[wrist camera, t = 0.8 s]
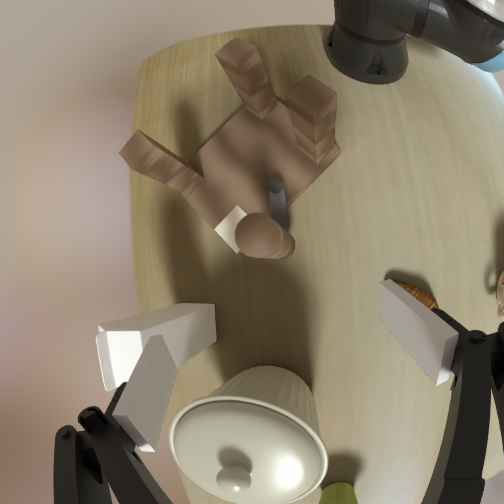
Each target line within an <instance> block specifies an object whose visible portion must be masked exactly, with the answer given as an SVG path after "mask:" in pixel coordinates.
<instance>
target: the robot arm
mask: <svg viewBox="0 0 504 504" xmlns="http://www.w3.org/2000/svg"><path fill="white" fill-rule="evenodd" d="M334 7H335V22H334V24H333V26H332V28H331V30H330V33H329V35H328V37H327V41H326V49H327V55H328V58H329V60H330V61H331V63H332V64H333V65H334V66H335V67H336V68H337V69H338V70H339V71H340V72H342V73H343V74H345V75H347V76H348V77H350V78H353V79H355V80H358V81H361V82H364V83H369V84H389V83H392V82H395V81H397V80H399V79H400V78H401V77H402V76H403V75H404V73H405V71H406V68H407V65H408V53H407V47H406V41H405V35H406V34H409V35H412V36H414V37H417V38H419V39H421V40H424V41H426V42H428V43H431V44H433V45H435V46H437V47H439V48H442V49H444V50H446V51H448V52H450V53H452V54H454V55H456V56H457V57H459V58H461V59H462V60H463V61H464V62H466V63H468V64H471V65H474V66H476V67H478V68H480V69H481V70H483V71H486V72H491V73H492V72H498V71H500V70H502V69H504V0H334ZM379 290H380V321H381V322H382V324H383V325H384V326H385V327H386V328H387V329H388V330H389V331H390V333H391V334H392V335H393V336H394V337H395V338H396V339H397V341H398V342H399V343H400V344H401V345H402V346H403V347H404V349H405V350H406V351H407V352H408V353H409V354H410V356H411V357H412V358H413V359H414V360H415V361H416V363H417V364H418V365H419V366H420V367H421V369H422V370H423V371H424V372H425V373H426V375H427V376H428V377H429V378H430V379H431V381H432V382H433V383H434V384H435V386H437V385H439V384H441V383H442V382H444V381H446V380H448V378H449V374H450V370H451V371H452V372H453V373H454V374H455V376H454V379H453V383H452V386H451V389H450V390H452V394H451V400H450V406H449V412H448V417H447V422H446V427H445V431H444V436H443V440H442V444H441V447H440V451H439V455H438V458H437V461H436V465H435V468H434V471H433V474H432V477H431V480H430V483H429V485H428V488H427V491H426V493H425V496H424V498H423V501H422V503H421V504H480V502H481V498H482V495H483V491H484V485H485V480H484V479H483V478H482V471H483V466H484V460H485V455H486V448H487V441H488V433H489V422H490V407H491V389H492V393H493V397H494V401H495V405H496V410H497V414H498V419H499V425H500V430H501V436H502V443H503V451H504V322H502V323H501V324H500V325H499V328H498V332H496V333H492V334H489V335H486V334H485V333H484V332H482V331H479V330H472V331H468V330H467V329H466V328H465V327H463V326H462V325H461V324H460V323H458V322H457V321H456V320H455V319H454V320H453V318H452V317H451V316H449V315H448V314H447V313H446V312H444V311H443V310H440V309H438V308H435V307H434V308H432V309H429V308H427V307H426V306H425V305H424V304H422V303H421V302H420V301H418V300H417V299H416V298H415V297H413V296H412V295H411V294H409V293H408V292H407V291H405V290H404V289H403V288H401V287H400V286H399V285H397V284H396V283H395V282H393V281H392V280H391V279H388V280H385V281H381V282H379ZM177 371H178V368H177V366H176V364H175V362H174V360H173V358H172V356H171V354H170V352H169V350H168V347H167V345H166V343H165V341H164V339H163V336H162V334H161V335H154V336H150V338H149V340H148V342H147V344H146V346H145V348H144V350H143V352H142V354H141V356H140V358H139V360H138V362H137V364H136V366H135V368H134V370H133V372H132V374H131V376H130V378H129V380H128V382H123V383H122V384H121V385H120V386H119V387H118V388H117V390H116V392H115V394H114V396H113V398H112V401H111V402H110V404H109V406H108V408H107V410H106V412H105V414H103V412H102V411H101V410H100V409H99V407H96V406H91V407H88V408H86V409H84V410H83V411H82V412H81V413H80V414H79V416H78V422H79V423H80V424H81V426H82V427H83V428H84V429H85V430H84V431H79V432H77V431H76V429H75V428H74V427H73V426H70V425H66V426H64V427H62V428H60V429H59V430H58V432H57V433H56V438H55V449H54V504H112V500H111V495H110V490H109V485H110V487H111V489H112V491H113V492H114V494H115V496H116V498H117V500H118V502H119V504H173V503H172V502H171V500H170V499H169V498H168V497H167V496H166V494H165V493H164V492H163V490H162V489H161V488H160V486H159V485H158V483H157V482H156V481H155V479H154V478H153V477H152V475H151V474H150V472H149V471H148V469H147V468H146V466H145V465H144V463H143V462H142V460H141V459H140V457H139V456H138V454H137V453H136V452H135V451H134V449H135V446H136V445H137V446H138V447H139V448H140V449H141V451H150V452H155V451H156V448H157V445H158V440H159V436H160V433H161V429H162V425H163V421H164V418H165V414H166V410H167V407H168V403H169V399H170V396H171V392H172V389H173V385H174V382H175V378H176V375H177ZM108 482H109V485H108Z"/></svg>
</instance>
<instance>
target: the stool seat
mask: <svg viewBox="0 0 504 504" xmlns="http://www.w3.org/2000/svg"><path fill="white" fill-rule="evenodd" d="M215 56H216V57H217V59H218V61H219V62H220V64H221V66H222V67H223V69H224V71H225V72H226V74H227V76H228V77H229V79H230V81H231V82H232V84H233V86H234V88H235V89H236V91H237V93H238V95H239V96H240V98H241V100H242V102H243V104H244V105H245V106H244V107H242V108H241V109H240V110H239V111H238V112H237V113H236V114H235V115H234V116H233V117H232V118H231V119H230V120H229V121H228V122H227V123H226V124H225V125H224V126H223V127H222V128H221V129H220V130H219V131H218V132H217V133H216V134H215V135H214V136H213V137H212V138H211V139H210V140H209V141H208V142H207V143H206V144H205V145H204V146H203V147H202V148H201V149H200V150H199V151H198V152H197V153H196V154H195V156H194V157H193V158H192V159H191V160H190V161H189V162H188V163H187V162H185V161H184V160H182V159H181V158H180V157H178V156H177V155H175V154H174V153H172V152H171V151H169V150H168V149H166V148H165V147H163V146H162V145H160V144H159V143H157V142H156V141H154V140H153V139H152V138H150V137H149V136H147V135H145V134H144V133H142V132H141V131H139V130H137V131H136V132H135V134H134V135H133V136H132V137H131V138H130V140H129V141H128V142H127V143H126V145H125V146H124V147H123V148H122V150H121V151H120V152H119V154H120V155H121V156H122V157H123V159H124V160H125V161H126V162H127V164H128V165H129V166H130V167H131V169H133V170H135V171H137V172H139V173H141V174H143V175H146V176H148V177H150V178H152V179H154V180H156V181H159V182H161V183H163V184H165V185H167V186H169V187H171V188H174V189H176V190H177V191H178V192H179V193H180V194H181V195H182V196H183V197H184V198H185V199H186V200H187V201H188V202H189V204H190V205H191V206H192V207H193V208H194V209H195V210H196V211H197V212H198V213H199V214H200V215H201V217H202V218H203V219H204V220H205V221H206V222H207V223H208V224H209V225H210V226H211V227H212V228H213V230H214V231H215V232H216V233H217V234H218V235H219V236H220V237H221V238H222V239H223V240H224V241H225V242H226V243H227V245H228V246H229V247H230V248H231V249H232V250H233V251H234V252H235V253H236V254H238V255H242V254H243V252H241V251H240V249H239V248H238V246H237V244H236V242H235V229H236V226H237V224H238V223H239V221H240V220H241V219H242V218H243V217H244V216H246V215H248V214H251V213H256V212H258V213H264V214H266V215H268V216H270V217H271V207H270V196H269V189H268V187H267V183H268V181H269V180H270V179H271V178H272V177H279V178H281V179H282V180H283V181H284V185H285V188H284V191H285V201H286V209H287V208H288V207H289V206H290V205H291V204H292V203H293V202H294V201H295V200H296V199H297V198H298V197H299V196H300V195H301V194H302V193H303V192H304V191H305V190H306V189H307V188H308V187H309V186H310V185H311V184H312V183H313V182H314V181H315V180H316V179H317V178H318V177H319V176H320V175H321V174H322V173H323V172H324V171H325V170H326V169H327V168H328V167H329V166H330V165H331V163H332V162H333V161H334V160H335V159H336V158H337V157H338V156H339V155H340V153H341V148H340V147H339V146H338V145H337V144H335V143H334V137H335V121H336V99H337V93H336V92H335V91H333V90H332V89H330V88H329V87H327V86H326V85H324V84H323V83H321V82H320V81H318V80H317V79H315V78H313V77H312V76H310V75H308V76H307V77H305V78H304V79H303V80H302V81H301V82H299V83H298V84H297V85H296V86H295V87H293V88H292V89H291V90H290V91H289V92H288V93H287V94H285V96H286V100H287V103H288V107H289V108H288V107H287V106H285V105H284V104H282V103H281V102H279V101H278V100H276V99H275V96H274V93H273V90H272V87H271V84H270V81H269V79H268V76H267V73H266V70H265V68H264V65H263V62H262V60H261V57H260V54H259V52H258V49H257V47H256V46H255V45H253V44H250V43H248V42H246V41H244V40H242V39H239V38H237V37H235V38H234V39H233V40H231V41H230V42H229V43H227V44H226V45H225V46H224V47H222V48H221V49H220V50H219V51H217V52H216V53H215Z"/></svg>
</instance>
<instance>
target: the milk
mask: <svg viewBox="0 0 504 504" xmlns="http://www.w3.org/2000/svg"><path fill="white" fill-rule="evenodd" d="M98 326H99V333H98V334H97V335H96V343H97V349H98V355H99V361H100V367H101V372H102V377H103V381H104V386H105V390H106V391H110V390H112V389H114V388H116V387H119V386H120V385H121V384H122V383H123V382H128V380H129V378H130V376H131V374H132V372H133V370H134V368H135V366H136V364H137V362H138V360H139V358H140V356H141V354H142V352H143V350H144V348H145V346H146V344H147V342H148V340H149V338H150V336H154V335H161V334H162V336H163V339H164V341H165V343H166V345H167V347H168V350H169V352H170V354H171V356H172V358H173V360H174V362H175V364H176V366H177V368H178V367H179V366H181V365H182V364H184V363H185V362H187V361H188V360H190V359H191V358H193V357H194V356H195V355H197V354H198V353H200V352H201V351H203V350H204V349H205V348H207V347H208V346H210V345H211V344H213V343H214V342H215V341H217V337H216V322H215V306H214V304H200V303H179V304H176V305H172V306H168V307H165V308H161V309H157V310H154V311H150V312H146V313H142V314H139V315H135V316H131V317H127V318H123V319H119V320H115V321H111V322H108V323H103V324H100V325H98Z"/></svg>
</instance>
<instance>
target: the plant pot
mask: <svg viewBox="0 0 504 504" xmlns="http://www.w3.org/2000/svg"><path fill="white" fill-rule="evenodd" d="M319 504H358V502H357V499H356V495H355V491H354V488H353V486H352V485H351V484H349V483H347V482H336V483H334V484H332V485H328V486H326V487H325V488H324V489H323V491H322V495H321V498H320V502H319Z"/></svg>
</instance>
